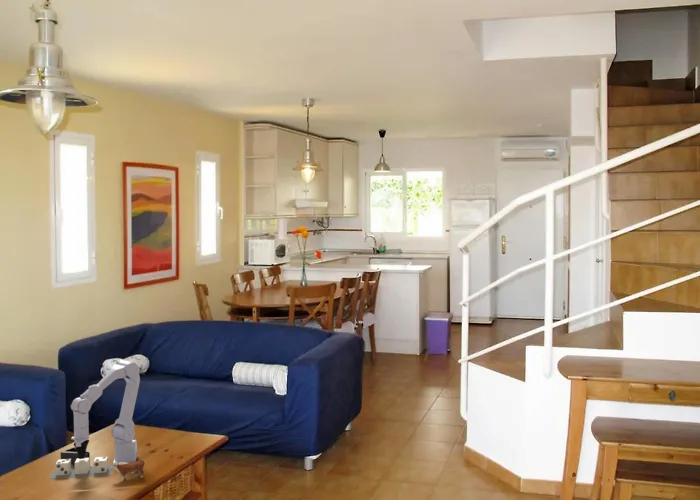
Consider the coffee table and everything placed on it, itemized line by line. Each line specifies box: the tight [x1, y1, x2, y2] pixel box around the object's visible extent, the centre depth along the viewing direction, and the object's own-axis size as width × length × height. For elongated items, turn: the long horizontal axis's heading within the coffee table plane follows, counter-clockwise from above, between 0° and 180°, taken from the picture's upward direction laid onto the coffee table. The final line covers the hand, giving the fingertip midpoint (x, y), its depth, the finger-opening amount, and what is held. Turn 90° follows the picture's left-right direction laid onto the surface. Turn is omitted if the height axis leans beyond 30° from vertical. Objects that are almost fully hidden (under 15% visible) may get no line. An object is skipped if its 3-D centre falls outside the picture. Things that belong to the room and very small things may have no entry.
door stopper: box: [60, 446, 91, 466], centre depth 315 cm, size 9×6×12 cm
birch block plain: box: [74, 458, 91, 474], centre depth 305 cm, size 5×5×5 cm
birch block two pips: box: [93, 456, 109, 473], centre depth 306 cm, size 5×5×5 cm
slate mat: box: [48, 464, 113, 480], centre depth 305 cm, size 24×12×1 cm, turn 100°
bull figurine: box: [111, 459, 146, 482], centre depth 297 cm, size 4×13×8 cm, turn 114°
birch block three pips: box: [55, 458, 72, 475], centre depth 303 cm, size 5×5×5 cm
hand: (81, 458), depth 305 cm, fingers closed
